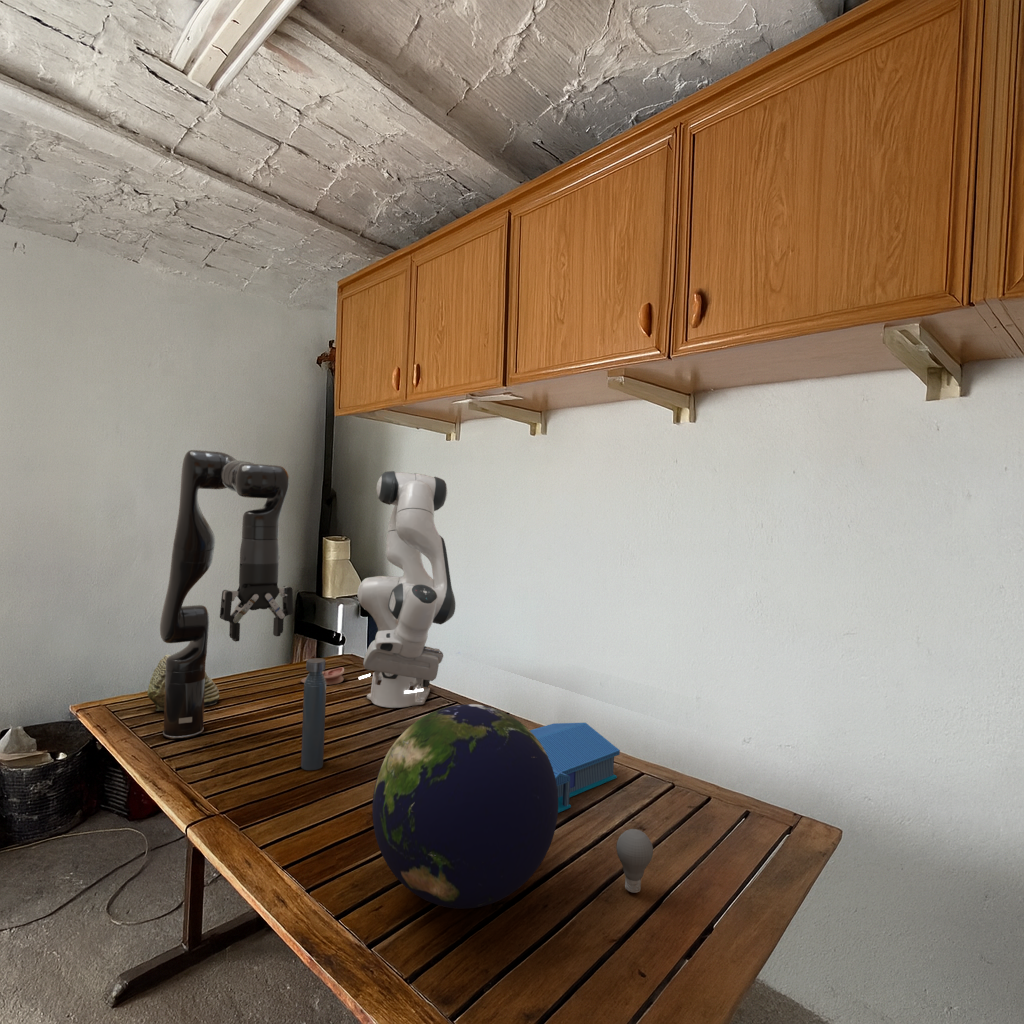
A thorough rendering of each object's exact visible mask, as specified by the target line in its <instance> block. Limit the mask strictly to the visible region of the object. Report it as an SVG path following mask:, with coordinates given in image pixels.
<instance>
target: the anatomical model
mask: <svg viewBox="0 0 1024 1024" xmlns="http://www.w3.org/2000/svg"><path fill="white" fill-rule="evenodd" d="M322 673H323V675H324V677H325V680H326V686H329V685H336V684H341V683H342V682H343V681H344V680H345V678H344V676H343V674H344V673H345V668H344V667H341V666H340V667H336V668H332V669H328V670H324V671H322ZM306 678H307V676H305V677H303V678H302V679H300V682H301V683H303V684H304V683H305V680H306Z"/></svg>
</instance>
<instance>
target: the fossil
mask: <svg viewBox="0 0 1024 1024" xmlns="http://www.w3.org/2000/svg"><path fill="white" fill-rule="evenodd" d="M171 655H172V654H165V655H164V656H163V657H162V658H161V659H160V660H159V662H158V663H157V666H156V667H155V669H154V670H153V672H152V675H151V677H150V680H149V684H148V688H147V697H148V699H149V700H150V701H152V703H153V704H154V706H155V711H158V712H159V711H162V712H163V711H164V705H165V674H166V660H167V658H168V657H169V656H171ZM220 698H221V696H220V690H219V688H218V686H217V685H216V683H215V682H214V681H213V679H212V678H211V677H209V675H208V674H207V672H206V671H205V693H204V707H207V706H213V705H215V704H217V703H218V701H219V699H220Z"/></svg>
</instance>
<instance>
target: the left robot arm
mask: <svg viewBox="0 0 1024 1024" xmlns="http://www.w3.org/2000/svg"><path fill="white" fill-rule="evenodd" d="M289 488H290V475H289V474H288V471H287V470H286V468H284V467H283V466H281V465H277V464H263V463H262V464H261V463H254V462H251V461H245V460H238V459H236V458H235V457H234V456H232V455H231V454H228V453H225V452H222V451H215V450H214V451H213V450H199V449H191V450H188V451H187V452H185V454H184V456H183V460H182V465H181V474H180V489H179V490H180V491H179V507H178V513H177V521H176V526H175V527H176V528H175V533H174V538H173V543H172V544H173V545H172V551H171V560H170V570H169V578H168V583H167V590H166V593H165V599H164V603H163V608H162V611H161V616H160V622H159V634H160V635H159V636H160V638H161V640H162V641H163V642H164V643H166V644H178V643H188V644H187V645H186V646H184V647H183V648H182V649H180V650H179V651H177V652H175V653H173V654H170V655H171V656H169V657H168V658H167V660H166V674H165V705H164V710H163V731H162V737H164V738H166V739H169V740H185V739H190V738H191V739H192V738H194V737H197V736H199V735H202V734H203V732H204V730H205V729H204V722H205V721H204V718H205V706H204V693H205V672H206V664H207V663H206V660H207V653H208V640H209V633H210V631H209V630H210V615H209V614H210V613H209V610H208V609H207V607H206V606H205V605H203V604H194V605H193V604H192V605H183V604H184V602H185V600H186V597H187V595H188V594H189V593H190V591H191V590H192V588H193V587H194V586H195V585H196V584H197V583H198V582H199V581H200V580H201V578H202V577H204V576H205V574H206V573H207V572H208V571H209V569H210V567H211V565H212V563H213V558H214V552H215V547H216V536H215V534H214V531H213V529H212V528H211V526H210V524H209V522H208V521H207V519H206V517H205V516H204V513H203V511H202V510H201V507H200V505H199V500H198V498H199V497H198V494H199V490H225V489H227V490H230V491H232V492H234V493H236V494H237V495H238V496H239V497H242V498H247V499H266V501H265V503H264V504H263V505H262V507H259V508H254V509H250V510H247V511H245V512H244V513H243V515H242V528H241V529H242V530H241V542H240V547H239V548H240V549H239V568H238V570H239V571H238V573H239V574H238V584H239V585H238V588H237V590H229V589H223V590H222V592H221V597H220V599H221V600H220V607H219V608H220V610H219V618H220V619H221V620H223V621H225V622H228V623H229V634H228V635H229V638H230V639H231V640H232V641H233V642H236V643H237V642H240V639H241V637H240V636H241V623H240V621H241V619H242V618H243V617H244V616H245V615H246V614H248V612H249V611H257V610H270V612H271V613H272V614H273V615H274V617H273V627H272V628H273V629H272V635H273V636H275V637H281V635H282V634H283V632H284V619H285V617H287V616H291V615H293V613H294V594H293V593H294V591H293V587H291V586H288V585H283V586H282V587H279V585H278V582H279V566H280V565H279V564H280V563H279V562H280V546H279V531H280V530H279V527H280V518H281V512H282V510H283V506H284V504H285V501H286V497H287V495H288V492H289ZM278 596H280V597H282V609H281V607H280V605H279V604H278V603H277V601H276V599H277V597H278ZM236 597H237V598H238V599H239V600H240V601H238V603H237V604H236V606H234V607H235V608H234V610H233V611H232V603H233V602H234V601H235V600H236Z"/></svg>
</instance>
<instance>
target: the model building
mask: <svg viewBox="0 0 1024 1024" xmlns="http://www.w3.org/2000/svg"><path fill="white" fill-rule="evenodd" d="M529 730H530V732H531V733H532V734H533V735H534V736H535V737H536V738H537V739H538V741H539V742H540V743H541V745H542V747H543V748H544V750H545V752H546V753H547V756H548V758H549V761H550V763H551V765H552V768H553V772H554V775H555V779H556V784H557V791H558V814H559V813H562V812H563V811H566V810H569V809H571V808H572V805H571V804H570V798H572V797H575V796H577V795H580V794H582V793H585V792H587V791H589V790H591V789H594V788H597V787H599V786H601V785H603V784H605V783H609V782H610V781H613V780H615V779H617V778H618V776H617V775H616V774H614V771H615V770H614V768H615V767H614V765H615V757H617V756H620V754H621V750H620V749H619V748H618V747H617V746H616V745H614V744H613V743H612V742H611V741H610V740H607V738H605V737H604V736H603V735H601V734H600V733H599V732H598V731H597V730H596V729H594V728H593V727H592V726H591V725H589V724H588V723H587V722H560V723H559V722H558V723H555V722H554V723H550V724H546V725H544V726H543V725H542V726H540V727H537V728H533V729H529Z"/></svg>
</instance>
